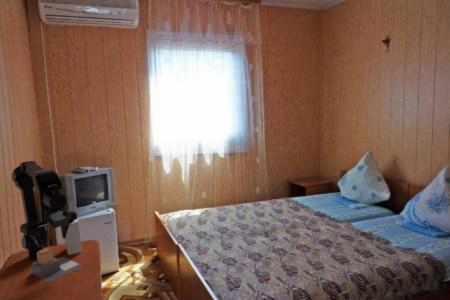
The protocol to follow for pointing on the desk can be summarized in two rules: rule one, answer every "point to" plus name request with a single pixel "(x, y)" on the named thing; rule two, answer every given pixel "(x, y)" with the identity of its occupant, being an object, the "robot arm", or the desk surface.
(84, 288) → the desk surface
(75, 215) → the robot arm
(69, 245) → the skincare box
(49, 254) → the plug
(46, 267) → the socket block
